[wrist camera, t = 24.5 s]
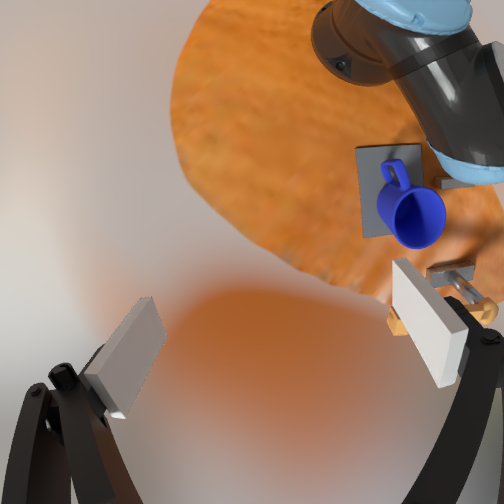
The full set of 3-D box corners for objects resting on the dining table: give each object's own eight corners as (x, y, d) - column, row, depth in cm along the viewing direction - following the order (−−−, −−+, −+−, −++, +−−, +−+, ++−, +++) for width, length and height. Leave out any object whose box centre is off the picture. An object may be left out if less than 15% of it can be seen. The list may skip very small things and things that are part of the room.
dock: (426, 178, 42) (468, 193, 30) (472, 175, 40) (517, 189, 28) (425, 283, 48) (455, 321, 36) (467, 275, 47) (501, 307, 35)
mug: (397, 145, 40) (425, 148, 31) (423, 214, 43) (452, 233, 34) (351, 166, 42) (371, 174, 33) (381, 235, 45) (403, 260, 36)
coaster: (354, 148, 41) (355, 148, 41) (418, 144, 40) (420, 144, 39) (363, 236, 46) (364, 238, 46) (423, 229, 45) (424, 230, 44)
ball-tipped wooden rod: (385, 325, 37) (392, 339, 34) (391, 302, 36) (398, 315, 33) (487, 317, 35) (497, 328, 32) (494, 296, 34) (505, 307, 31)
